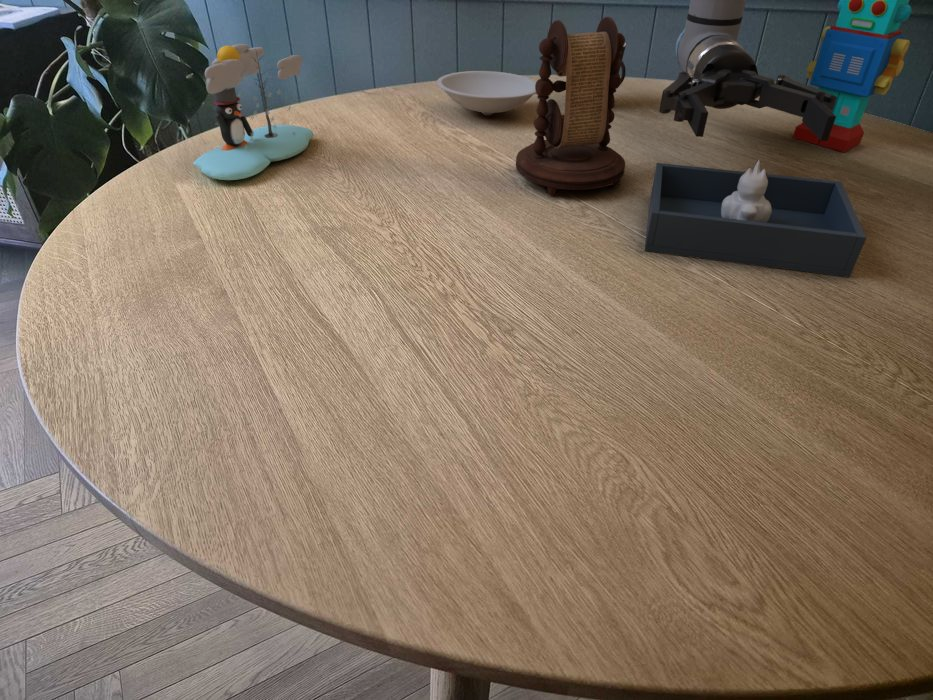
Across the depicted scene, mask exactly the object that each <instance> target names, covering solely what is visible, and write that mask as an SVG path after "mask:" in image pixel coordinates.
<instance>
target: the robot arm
mask: <svg viewBox="0 0 933 700" xmlns="http://www.w3.org/2000/svg"><path fill="white" fill-rule="evenodd" d="M746 4H747V0H690V2H689V8H688V13H687V16H686V19H685V25H684V28H683V30H682V31H681V32H680V34H679V36H678V38H677V39H676V43H675V56H676V60H677V65H678V66H679V68H680V70H681V72H678V77H677V79H675V80H674V81H672V83H670V84H669V85H668V86H667V87H665V88H664V89H663V90H662V93H661V99H660V105H659V110H658V112H659V113H660V114H663V115H665V114H670V113H671V112H672V111H674V116H673V122H676V123H682V122H684V121H686V122H687V123H688V125H689V126H690V128H691V131H692V133H693V134H694V136H695V137H696V138H704V133H705V130H706V129H705V128H706V125H707V120H708V117H709V111H708V109H707V108H706V107H709V108H713V109H715V110H716V109H717V110H725V109H731V108H733V107H736V106H738V105H739V106H750V107H752V108H755V109H762V108H766V107H768V108H769V109H773V110H777V111H780V112H783V113H786V114H790V115H792V116H793V115H794V116H797V117H799V118H800V117H801V123H804V124H805V125H806V126H807V127H808V128H809V129H810V130H811V131H812V132H813V133H814V134H815V135H816V136H817V137H818V138H819V139H820V140H821V141H828V138H829V135H830V133H831V130H832V127H833V124H834V121H835V118H836V116H835V115H834V114H833V113H832V112H833V109H834V106H835V103H836V100H837V96H835V95H832V94H829V93H827V92H826V91H824V90H823V91H821V90H818V89H819V88H816V87H813V86H810V85H807V84H805V83H802V82H800V81H796V80H794V79H793V78H790V77H789V76H788V75H785V74H779V75H777V77H776V80H774V78H771V77H767V76H764V75H759V72H758V71H759V70H758V67H757V63H756V62H755V60H754V58H753V57H752V56H751V55H750V54H749V53H748V52H747V51H746V50H745V48H744V47H743V46H742V45H740V44H739V43H738V42H737V41H738V38H739V33H740V29H741V25H742V21H743V15H744V13H745V8H746ZM757 99H758V100H757Z"/></svg>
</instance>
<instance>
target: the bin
mask: <svg viewBox="0 0 933 700" xmlns="http://www.w3.org/2000/svg"><path fill="white" fill-rule="evenodd" d="M745 172H746V171H742V170H741V171H740V170H731V169H721V168H711V167H703V166H692V165H684V164H683V165H681V164H673V163H662V162H656V165H655V169H654V175H653V180H652V185H651V190H650V196H649V202H648V203H649V205H648V212H647V213H648V214H647V223H646V233H645V242H644V252H648V253H649V252H650V253H656V254H657V253H658V254H664V255H673V256H679V257H680V256H681V257H688V258H695V259H703V260H712V261H719V262H726V263H735V264H743V265H751V266H759V267H765V268H766V267H768V268H773V269H781V270H790V271H796V272H797V271H798V272H805V273H812V274H821V275H829V276H837V277H842V278H843V277H844V278H850V277H851V275H852V273H853V270H854V268H855V266H856V264H857V261H858V259H859V256H860V254H861V251H862V249H863V247H864V245H865V242H866V240H867V235H866V233H865V231H864V229H863V227H862V225H861V223H860V219H859V218H858V216H857V213H856V211H855V209H854V206H853V204H852V202H851V200H850V198H849V196H848V194H847V192H846V189H845V186H844V183H843V182H842V181H840V180H830V179H819V178H809V177H801V176H791V175H779V174H770V173H766V176H767V180H768V185H767V188H766V191H765V194H764V197H765V199H766V200H768V201H769V202H770V204H771V209H772V213H771V215H770V218H769V220H768V221H767V222H766V223H763V222H755V221H746V220H737V219H729V218H722V216H721V207H722V202H723V200H724V199H725V198H726V197H727V196H730V195H732V193H733V192H735V191H738V190H737V187H738V183H739V179H740V177H741V176H742V175H743V174H744V173H745Z"/></svg>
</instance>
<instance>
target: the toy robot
mask: <svg viewBox="0 0 933 700" xmlns="http://www.w3.org/2000/svg"><path fill="white" fill-rule="evenodd" d="M909 3H910V0H839V1H838V3H837V12H839V13H838V17H837V19H836V23H835V24H834V25H831V26H829V25H827V26H826V27H825V28H823V31H822V32H821V36H820V41H821V42H822V43H821V46H820V49H819V51H818V53H817V56H816V58H815V60H812V61H811V62H809V63H808V66H807V68H806V72H808V73H807V76H806V78H807V79H810V82H809V85H811V86H815V87H818V88H817V89H818V90H821V91H823V90H824V91H826V92H827V93H829V94H832V95H835V96H837V100H836V103H835V106H834V109H833V112H832V113H833V114H834V115H835V116H836V118H835V121H834V124H833V127H832V130H831V133H830V135H829V138H828V141H821V140H820V139H819V138H818V137H817V136H816V135H815V134H814V133H813V132H812V131H811V130H810V129H809V128H808V127H807V126H806V125H805V124H804V123H803V122H801V123H799V124H798V125H796V126H795V129H794V132H793V135H792V138H793V139H794V140H795V139H796V140H799V141H803V142H806V143H810V144H812V145H817V146H820V147H823V148H827V149H831V150H834V151H837V152H842V153H845V152H847V151H849V150H851V149H853V148H855V147H856V146H858V145H860V144H861V142H862V140H863V137H864V134H865V131H864V130H863V128H862V126H861V122H862V120H863V117H864V113H865V111H866V109H867V105H868V104H869V103H868V102H869V100H870V98H871V96H873V95H875V94H878V95H882V96H885V95H886V94H887V93H888V91H889V90H890V87H891V85H892V82H893V80H894V78H895V77H898V76H899V75H900V73H901V72H902V70H903V68H904V65H905V61H904V59H905V55H906V53H907V52H908V49H909V47H910V44H911V42H910V40H909V39H904V36H905V34H904V33H903V30H901V29H900V26H901V23H904V22H906V21H907V20H908V19H909V17H910V16H911V15H912V7H911V5H910V4H909Z"/></svg>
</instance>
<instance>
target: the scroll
mask: <svg viewBox="0 0 933 700" xmlns="http://www.w3.org/2000/svg"><path fill="white" fill-rule="evenodd" d="M625 43H626V38H625V36H624V35H623V33H621V32H619V30H618V27H617V24H616V22H615V20H614V19H613V17H611V16H605V17H603V18H601V20H600V21H599V22H598V25H597V27H596V32H593V31H592V32H581V33H568V32H567V28H566V26H565V24H564V22H562V21H561V20H559V19H556V20H554V21H553V22H552V23H551V25H550V27H549V29H548V32H547V37H545V38H542V40H541V41H540V43H538V44H539V45H538V51H539V52H540V54H541V56H539V60H540V61H542V62H541V64H540V67H539V70H538V76H539V79H537V80H536V84H535V91H536V94H535V95H537V96H536V98H537V99H538V103H537V106H536V109H535V112H536V114H537V116H536V117H535V119H534V120H533V127H534V129H535V130H536V131H535V132H534V136H536V138H535V140H534V142H533V143H531V144H529V145H527V146H525V147H523V148H522V149H521V150H519V152H518V153H517V154H516V157H515V169H516V171H517V173H518V174H519V175H520V176H522V178H525V179H526V180H528V181H530V182H532V183H534V184H538V185H541V186H544V187H547V192H548V195H549V196H550V197H553V196H554V195H555V194H556V191H557V189H561V190H571V191H581V190H582V191H584V190H585V191H586V190H594V189H595V190H596V189H600V188H605V187H608V186H611V185H612V186H613V187H614V188H617V187H618V186H619V184H620V183H621V179H622V178H623V177H624V175H625V169H626V160H625V159H624V157H623V156H622V155H621V154H620V153H619V152H617V151H615V150H614V149H613V148H611V147H610V146H608V145H609V144H610V142H611V135H610V129H612V128H613V127H612V125H611V123H613V121H614V120H615V112H614V110H613V109H614V107H615V104H616V103H615V101H616V100H615V93H616V92H617V90H618V89H619V88H620V86H621V85H620V83H621V75H620V73H619V74H618V73H617V72H618V70H619V68H620V69H621V67H620V61H619V55H621V54H622V52H621V51H620V49H622V48H623V46H624V44H625ZM552 70H553V71H554V72H555V74H556V76H557V77H561V78H562V77H565V80H561V79H557V80H554V82H553V81H552V80H551V79H549V78H550V77H551V75H552ZM621 84H622V83H621ZM564 91H565V97H564V98H565V101H564V114H562V112H561V108H560V106H559V104H558V102H557V101H556V100H555V99H553V98H550V95H551V94H552V93H554V92H555V93H562V92H564ZM613 93H614V94H613Z"/></svg>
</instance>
